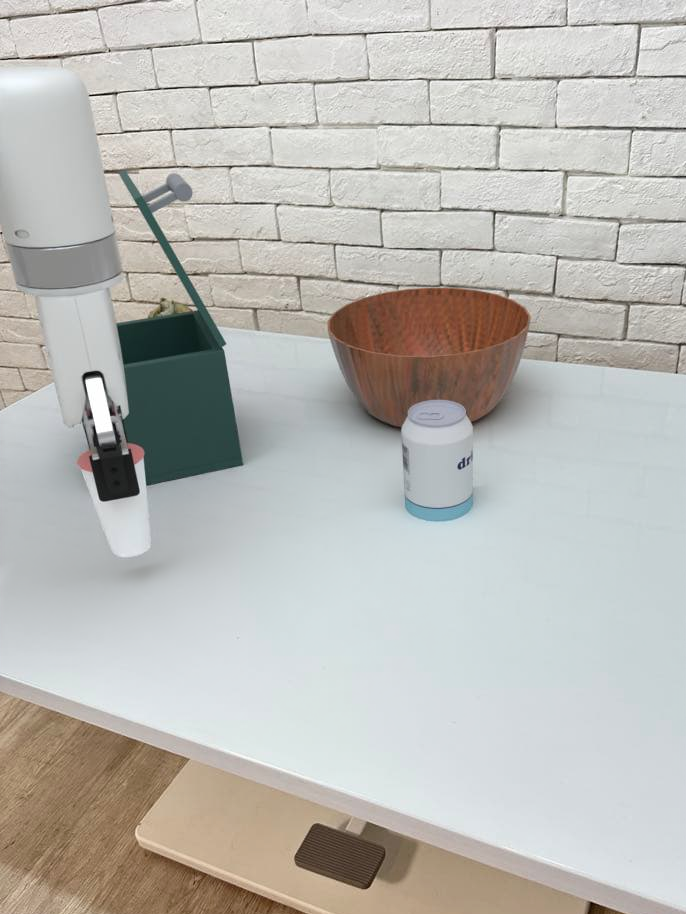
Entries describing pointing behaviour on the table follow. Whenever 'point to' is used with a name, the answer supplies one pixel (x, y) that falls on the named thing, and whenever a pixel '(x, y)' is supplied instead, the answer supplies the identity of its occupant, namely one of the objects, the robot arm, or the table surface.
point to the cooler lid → (183, 194)
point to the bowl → (429, 349)
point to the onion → (168, 308)
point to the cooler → (178, 397)
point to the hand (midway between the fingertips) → (115, 478)
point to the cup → (122, 510)
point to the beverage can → (437, 461)
